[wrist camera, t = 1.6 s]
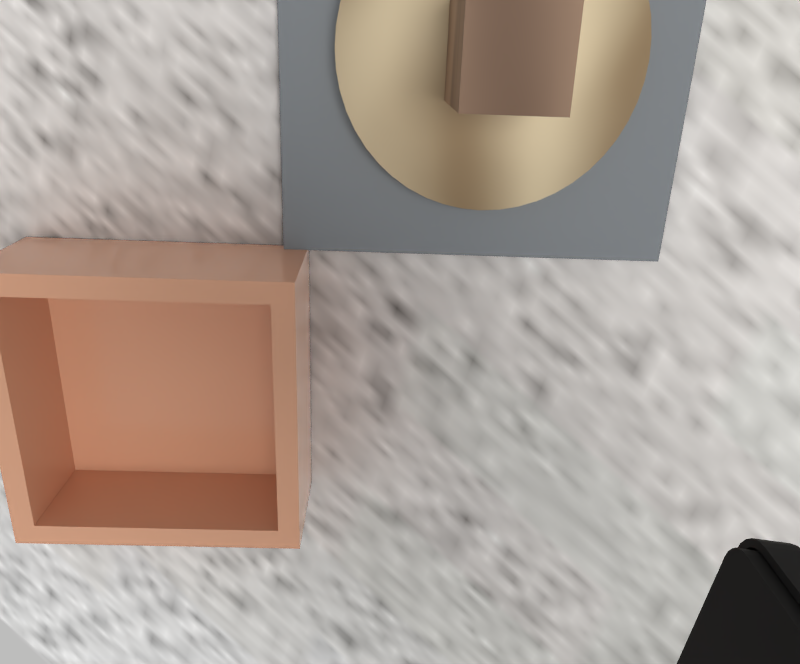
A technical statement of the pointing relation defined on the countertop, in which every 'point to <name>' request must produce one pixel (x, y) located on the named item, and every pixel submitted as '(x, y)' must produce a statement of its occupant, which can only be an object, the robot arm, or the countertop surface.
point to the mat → (465, 228)
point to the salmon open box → (155, 392)
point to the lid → (490, 91)
